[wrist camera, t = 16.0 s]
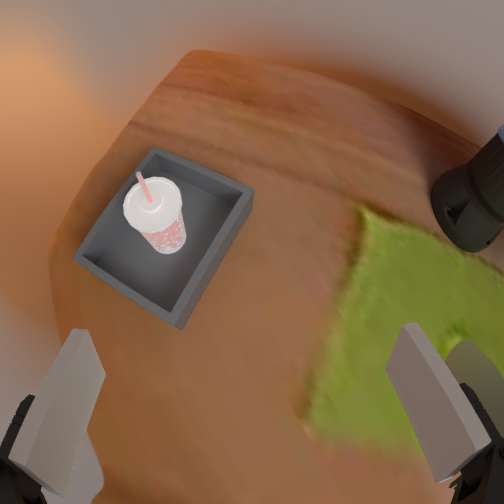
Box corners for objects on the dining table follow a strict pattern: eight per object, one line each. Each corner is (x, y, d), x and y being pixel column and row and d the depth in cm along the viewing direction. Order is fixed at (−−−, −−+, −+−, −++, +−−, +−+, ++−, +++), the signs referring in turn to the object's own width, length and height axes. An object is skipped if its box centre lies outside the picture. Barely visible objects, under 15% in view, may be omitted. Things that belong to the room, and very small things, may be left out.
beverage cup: (181, 266, 36) (153, 213, 22) (137, 251, 36) (93, 195, 23) (199, 222, 38) (184, 153, 25) (157, 209, 38) (126, 141, 25)
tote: (160, 166, 41) (154, 145, 37) (252, 209, 40) (254, 189, 35) (89, 270, 36) (72, 258, 31) (181, 330, 34) (173, 326, 29)
